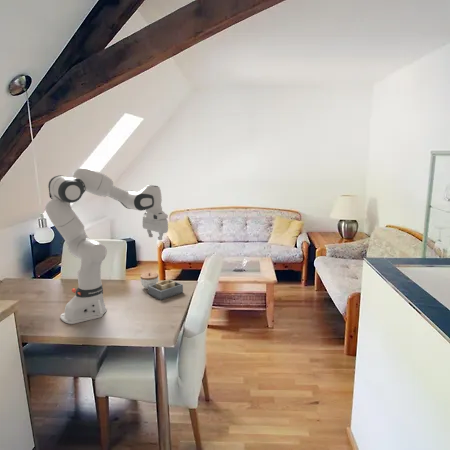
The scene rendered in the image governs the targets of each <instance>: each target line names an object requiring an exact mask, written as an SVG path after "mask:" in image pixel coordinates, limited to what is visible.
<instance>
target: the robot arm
mask: <svg viewBox="0 0 450 450" xmlns="http://www.w3.org/2000/svg"><path fill="white" fill-rule="evenodd" d="M47 186H48V187H47V188H48V195H49V198H50V199H51V200H50V201H48V202H47V203H46V205H45V209H44V210H45V212H46V215H47V217H48V218H49V220H50V221H51V223H52V224H53V226H54V228H56V230H57V232H58V233H59V234H60V236H61V237H62V238H63V240H64V241H65V243H66V245H67V250H68V252H69V253H70V254H71V255H72V256H73V257H75V258H77V259H79V260H80V262H81V263H80V268H79V270H78V271H77V283H78V287H77V288H71V292H72V293H74V294H75V295H74V296H73V297H72V298H71V299H70V300H69V301H68V302H67V303H66V304H65V306H64V307H65V308H64V312H63V313H61V314H60V316H59V317H60V319H61V321H62V322H64V323H66V324H69V325H74V324H78V323H82V322H88V321H91V320H95V319H100V318H102V317H103V316H104V314H105V313H106V312H107V311H108V309H107V307H106V303H105V301H104V295H103V294H104V288H103V284H102V275H101V274H102V273H101V271H102V270H101V268H102V263H103V261H104V260H105V259H106V257H107V254H108V251H107V247H106V246H105V245H104V244H103V243H102V242H100V241H98V240H95V239H92V238H90V237H89V236H88V235H87V234H86V231H85V225H84V223H83V222H82V221H81V219H80V218H79V216H78V215H77V213H76V211H74V209H72V206H71V204H72V203H73V204H74V203H76V202H79V200H80V199H81V198H82V197H83V194H84V193H85V192H87V193H90V194H92V195H95V196H99V197H104V198H105V197H109V198H111V199H113V200H115V201H117V202H120V204H121V205H122V206H123V207H124V208H126V209H129V210H136V211H139V212H141V211H145V212H144V214H143V216H142V228H143V229H145V230H146V232H147V234H148V238H153V236H154V235H153V233H152V232H155V233H158V234H159V235H158V237H157V240H158V241H162V240H163V237H164V234H167V233H168V232H169V223H168V222H169V221H168V218H169V217H168V214H167V213H165V211H163V207H162V201H163V200H162V192H161V187H160V186H158V185H152V184H146V185H145V187H144V188H142V189H141V190H139V191H134V190H124V189H121V188H119V187H117V186H115V185H114V182H113V179H112V178H111V177H110V176H108V175H107V174H104V173H102V172H100V171H97V170H95V169H91V168H88V167H84V166H82V167H79V168H76V170H75V171H74V173H73V175H72V176H70V177H68V176H65V175H55V176H53V177H52V178H51V179H49V182H48V185H47Z"/></svg>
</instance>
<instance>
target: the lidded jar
mask: <svg viewBox="0 0 450 450" xmlns="http://www.w3.org/2000/svg"><path fill="white" fill-rule="evenodd" d="M139 276H140V277H139V278H140V283H141V286H142V287H143V288H144V289H145V290H148V286H150V285H153V284H156V283H158V282H159V274H158V273H156V272H151V271H149V272H144V273H142V274H141V275H139Z"/></svg>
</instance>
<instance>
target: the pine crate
mask: <svg viewBox="0 0 450 450" xmlns="http://www.w3.org/2000/svg"><path fill="white" fill-rule="evenodd" d="M174 281H175V280H173V281H172V279H167V280H162V281H158V283H156V289H158V290H160V291H162V290H166V289H169V288H172V287H175V282H176V281H175V282H174Z"/></svg>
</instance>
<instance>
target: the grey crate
mask: <svg viewBox="0 0 450 450" xmlns="http://www.w3.org/2000/svg"><path fill="white" fill-rule="evenodd" d="M171 280H172V279H171ZM172 281H174V282H175V287H172V288H169V289H166V290H162V291H160V290H158V289H156V284H153V285H150V286H148V289H147V291H148V295H149V296H151V297H153V298H156V299H158V300H160V301H162V300H166V299H169V298H172V297H174V296H178V295H181V294H183V293H184V285H183V284H182V283H180V282H177V281H175V280H172Z"/></svg>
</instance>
